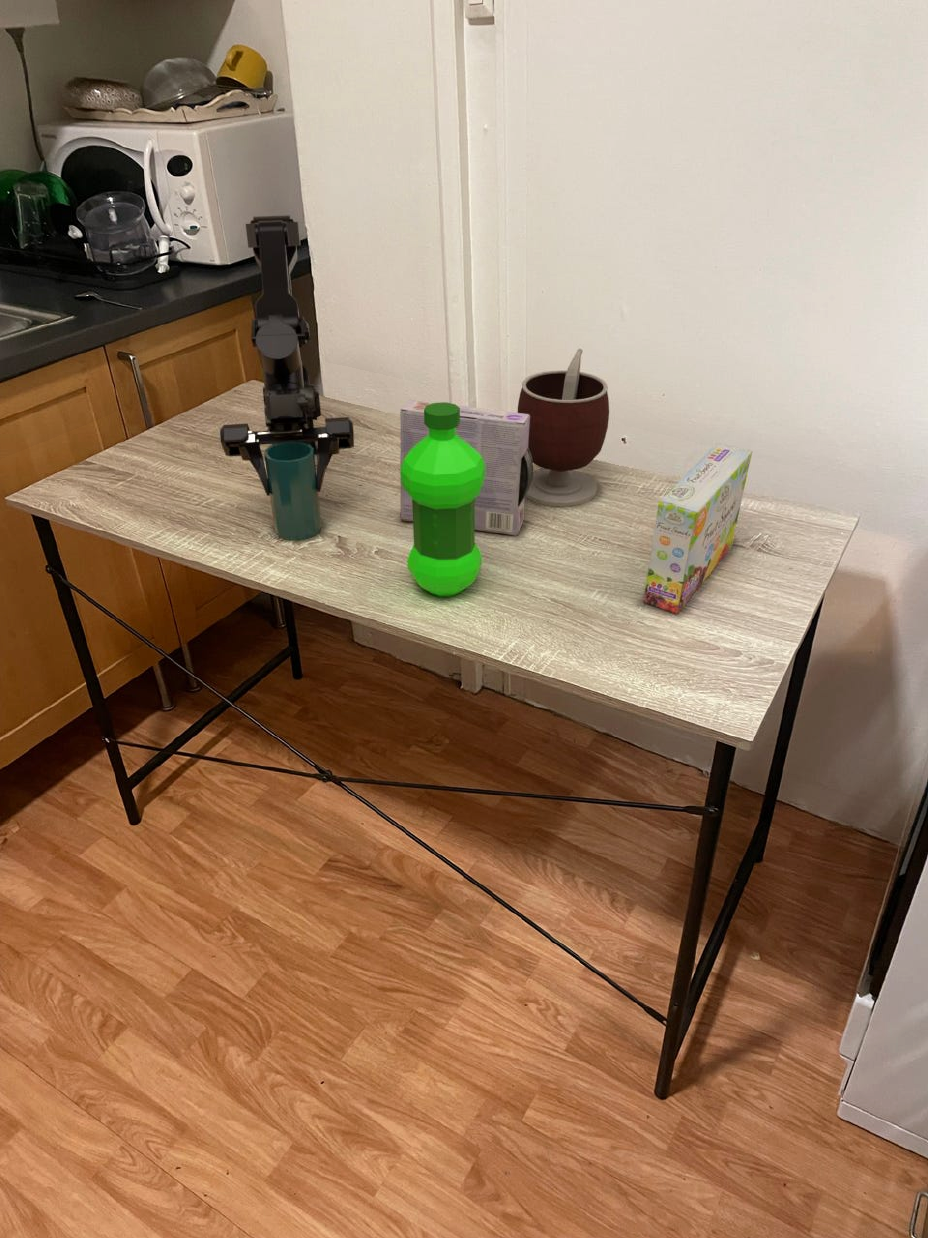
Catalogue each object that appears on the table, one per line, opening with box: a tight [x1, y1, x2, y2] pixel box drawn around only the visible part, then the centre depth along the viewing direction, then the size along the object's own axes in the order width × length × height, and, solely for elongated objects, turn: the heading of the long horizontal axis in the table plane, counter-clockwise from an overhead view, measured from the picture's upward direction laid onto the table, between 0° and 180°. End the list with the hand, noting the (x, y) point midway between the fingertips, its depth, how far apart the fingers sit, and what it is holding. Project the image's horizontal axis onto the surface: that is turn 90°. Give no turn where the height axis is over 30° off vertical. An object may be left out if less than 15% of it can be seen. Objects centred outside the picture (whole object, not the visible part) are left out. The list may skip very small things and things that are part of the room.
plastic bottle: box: [399, 401, 485, 597], centre depth 116 cm, size 10×10×25 cm
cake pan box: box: [399, 399, 534, 537], centre depth 133 cm, size 19×5×18 cm, turn 75°
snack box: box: [642, 443, 753, 614], centre depth 121 cm, size 21×6×15 cm, turn 148°
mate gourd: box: [517, 348, 610, 508], centre depth 142 cm, size 16×14×20 cm
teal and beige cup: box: [263, 441, 322, 541], centre depth 133 cm, size 7×7×12 cm
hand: (293, 493), depth 132 cm, fingers closed on teal and beige cup, 7 cm apart
